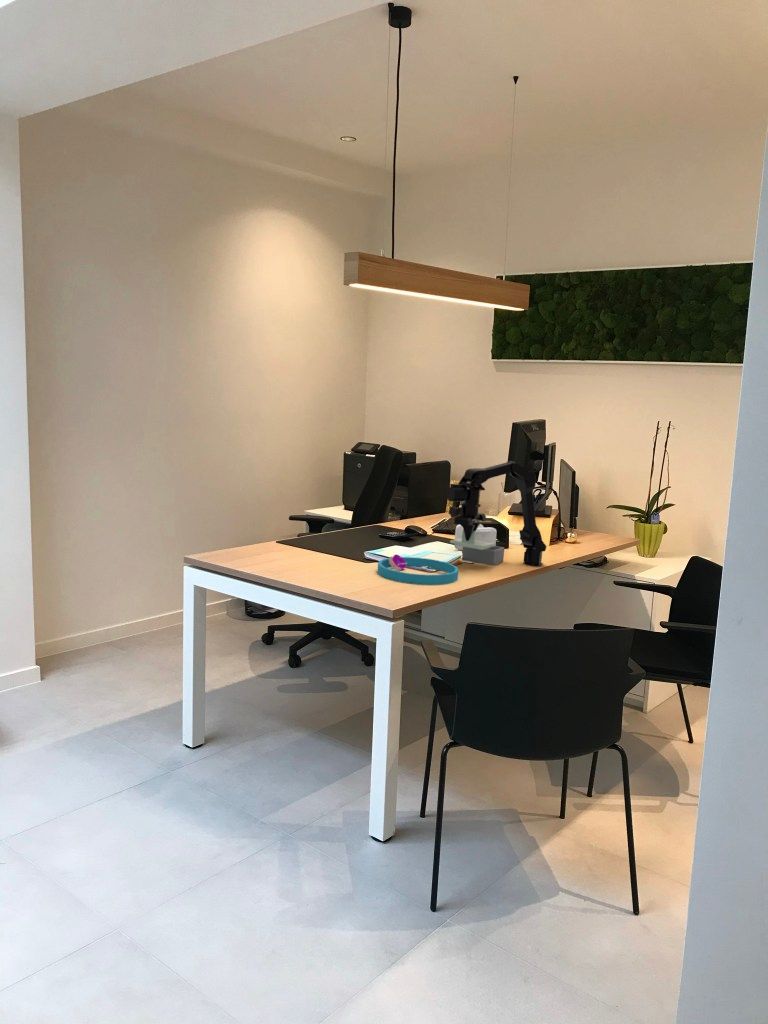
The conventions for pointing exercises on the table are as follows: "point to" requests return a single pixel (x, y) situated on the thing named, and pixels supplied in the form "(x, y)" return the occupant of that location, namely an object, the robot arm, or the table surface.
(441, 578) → the teal ring
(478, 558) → the parts tub
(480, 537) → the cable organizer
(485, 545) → the lid
